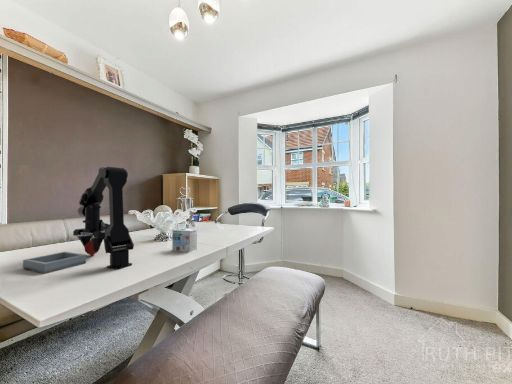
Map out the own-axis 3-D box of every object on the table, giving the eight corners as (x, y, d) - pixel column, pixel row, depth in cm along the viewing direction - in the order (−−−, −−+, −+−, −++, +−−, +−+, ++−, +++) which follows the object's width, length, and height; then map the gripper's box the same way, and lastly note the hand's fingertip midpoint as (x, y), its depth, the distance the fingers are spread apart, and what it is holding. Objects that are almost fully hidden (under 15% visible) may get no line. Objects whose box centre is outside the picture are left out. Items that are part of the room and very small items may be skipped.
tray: (85, 263, 95) (86, 254, 95) (44, 273, 82) (44, 264, 82) (64, 259, 101) (65, 251, 101) (23, 269, 88) (23, 259, 88)
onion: (102, 254, 110) (102, 237, 110) (93, 257, 104) (93, 239, 104) (91, 253, 111) (91, 237, 111) (81, 257, 105) (81, 239, 105)
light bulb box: (171, 250, 117) (171, 229, 117) (179, 248, 123) (179, 227, 123) (190, 252, 114) (190, 230, 114) (197, 249, 120) (197, 228, 120)
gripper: (122, 217, 112) (122, 249, 112) (96, 215, 119) (96, 246, 118) (99, 219, 101) (99, 254, 101) (72, 217, 108) (72, 250, 108)
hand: (92, 251), depth 107 cm, fingers closed on onion, 6 cm apart
